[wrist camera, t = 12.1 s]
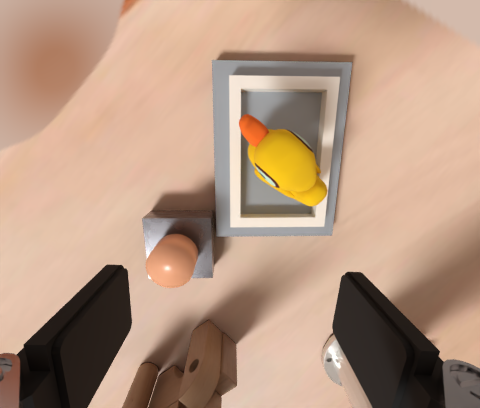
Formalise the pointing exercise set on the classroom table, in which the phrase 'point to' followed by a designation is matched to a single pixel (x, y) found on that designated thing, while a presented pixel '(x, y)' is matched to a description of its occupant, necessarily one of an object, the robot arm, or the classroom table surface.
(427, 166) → the classroom table surface
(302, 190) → the duckling
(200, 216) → the button base
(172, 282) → the button
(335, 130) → the tray
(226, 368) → the wooden toy
